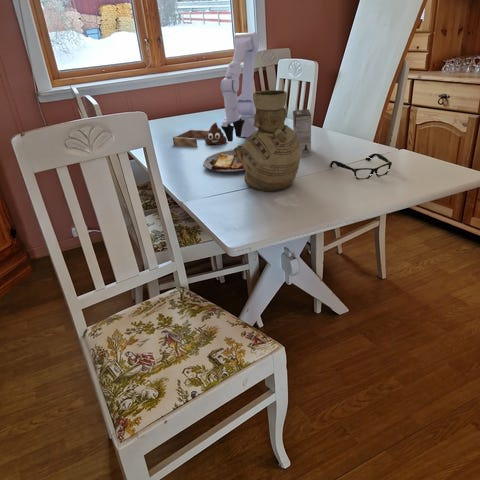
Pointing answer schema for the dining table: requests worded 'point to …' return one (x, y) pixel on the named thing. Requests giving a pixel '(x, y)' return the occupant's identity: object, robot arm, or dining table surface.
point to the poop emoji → (215, 136)
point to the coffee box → (303, 130)
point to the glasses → (365, 168)
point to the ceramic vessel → (270, 145)
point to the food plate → (223, 162)
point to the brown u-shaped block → (189, 137)
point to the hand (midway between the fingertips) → (234, 138)
